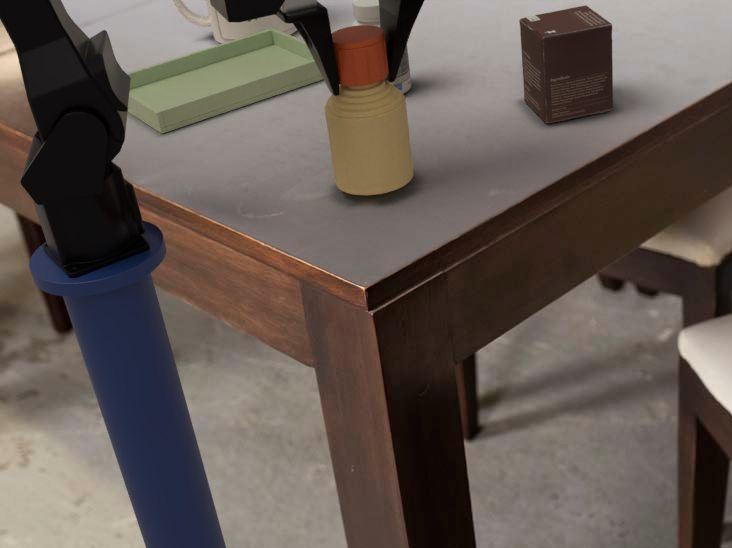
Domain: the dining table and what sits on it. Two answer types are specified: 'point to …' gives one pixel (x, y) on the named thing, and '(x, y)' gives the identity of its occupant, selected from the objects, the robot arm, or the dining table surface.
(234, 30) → the mug
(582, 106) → the box
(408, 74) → the pill bottle
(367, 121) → the bottle
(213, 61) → the tray
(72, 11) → the dining table surface
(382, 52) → the cap
